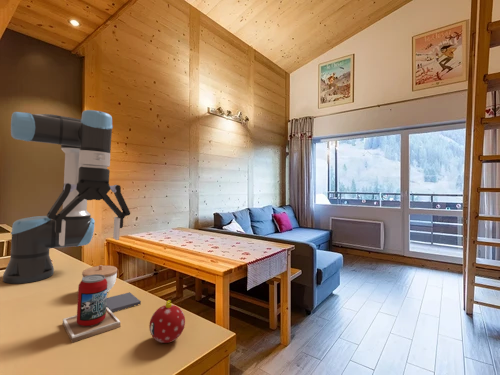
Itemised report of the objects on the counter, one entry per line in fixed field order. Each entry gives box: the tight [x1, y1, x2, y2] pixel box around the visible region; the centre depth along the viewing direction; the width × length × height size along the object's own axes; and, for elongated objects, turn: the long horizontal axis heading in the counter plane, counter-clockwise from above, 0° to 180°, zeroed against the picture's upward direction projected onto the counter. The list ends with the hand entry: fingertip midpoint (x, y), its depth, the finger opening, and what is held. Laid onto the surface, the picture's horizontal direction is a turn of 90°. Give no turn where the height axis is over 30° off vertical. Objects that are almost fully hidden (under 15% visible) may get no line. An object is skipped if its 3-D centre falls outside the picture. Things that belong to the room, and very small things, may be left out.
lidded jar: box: [81, 264, 118, 293], centre depth 92 cm, size 11×11×9 cm
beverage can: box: [76, 274, 108, 327], centre depth 71 cm, size 7×7×12 cm
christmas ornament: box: [148, 299, 186, 344], centre depth 66 cm, size 9×9×10 cm
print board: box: [62, 307, 121, 343], centre depth 71 cm, size 11×11×1 cm
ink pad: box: [106, 292, 141, 313], centre depth 84 cm, size 9×9×1 cm
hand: (90, 241), depth 74 cm, fingers open, 13 cm apart
